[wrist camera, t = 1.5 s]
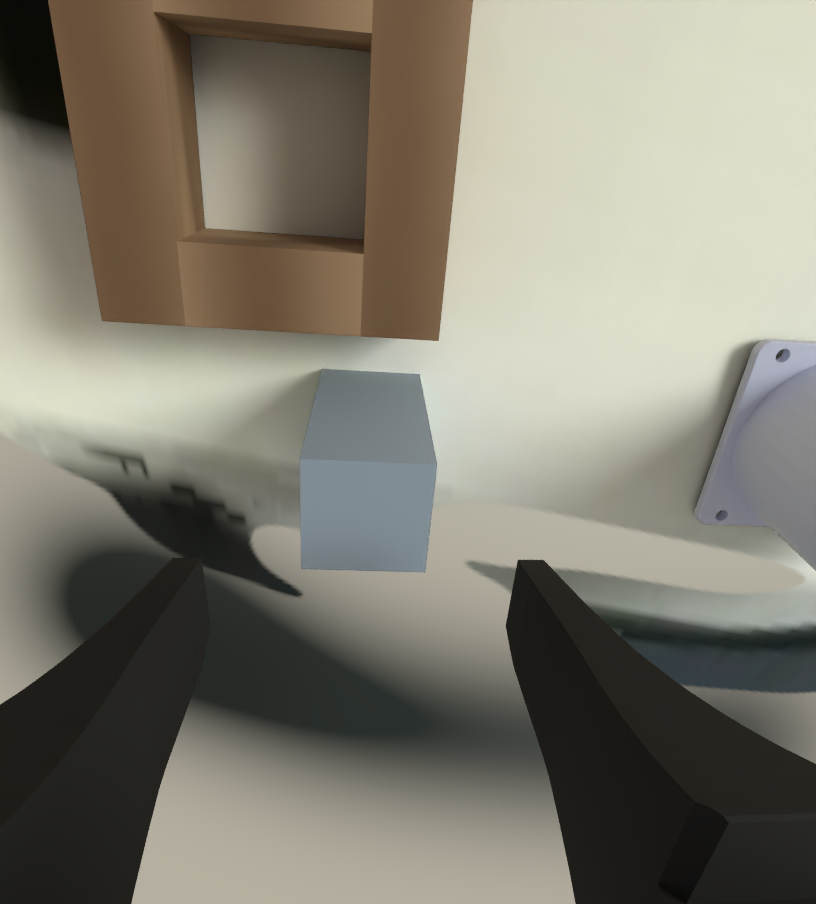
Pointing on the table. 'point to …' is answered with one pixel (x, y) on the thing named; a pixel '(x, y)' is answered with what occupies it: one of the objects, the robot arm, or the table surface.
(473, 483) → the table surface
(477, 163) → the table surface
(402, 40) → the socket block
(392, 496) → the peg
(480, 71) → the table surface
